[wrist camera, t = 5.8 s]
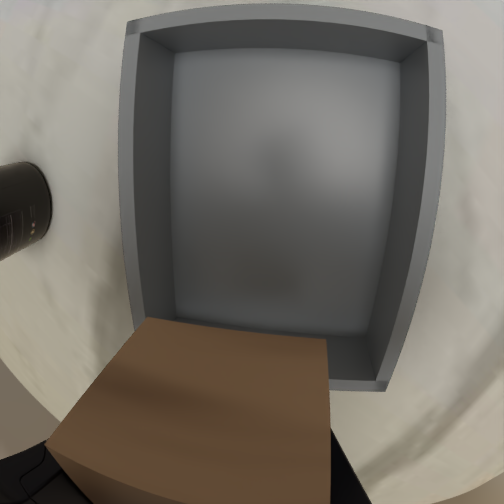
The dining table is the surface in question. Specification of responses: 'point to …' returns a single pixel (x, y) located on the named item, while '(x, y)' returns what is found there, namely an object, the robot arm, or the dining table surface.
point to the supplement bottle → (22, 207)
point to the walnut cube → (203, 420)
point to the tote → (283, 174)
